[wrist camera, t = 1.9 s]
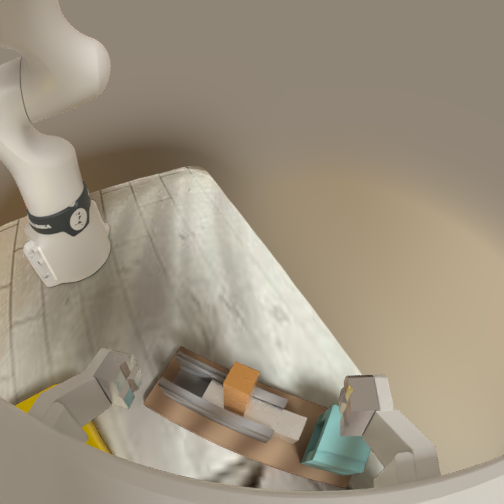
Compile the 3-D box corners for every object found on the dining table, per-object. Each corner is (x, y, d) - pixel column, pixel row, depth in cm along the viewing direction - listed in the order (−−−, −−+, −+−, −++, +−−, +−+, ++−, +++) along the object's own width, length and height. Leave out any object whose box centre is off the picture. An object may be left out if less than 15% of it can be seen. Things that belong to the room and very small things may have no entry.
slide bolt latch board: (145, 406, 34) (130, 389, 28) (182, 350, 40) (174, 324, 35) (342, 487, 27) (366, 486, 22) (364, 422, 34) (389, 408, 28)
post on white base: (202, 405, 33) (192, 372, 24) (213, 386, 35) (208, 346, 26) (292, 443, 30) (321, 425, 21) (301, 423, 32) (332, 395, 23)
